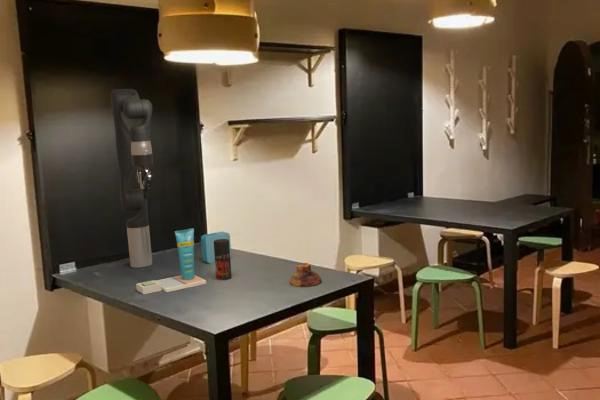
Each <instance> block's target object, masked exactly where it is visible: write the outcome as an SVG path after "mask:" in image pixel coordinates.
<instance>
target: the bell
mask: <svg viewBox="0 0 600 400" xmlns="http://www.w3.org/2000/svg"><path fill="white" fill-rule="evenodd" d="M311 266H312V265H311V264H310V263H309V262H304V263H303V265H301V264H298V265H297V266H296V273H294V274H292V275H291V277H290V278H289V284H290V285H291V286H293V287H297V288H298V287H299V288H308V287H315V286H317V285H320V283H322V278H321V276H320V275H319V274H318V273H317V272H315V271H313V270H312V269H311Z"/></svg>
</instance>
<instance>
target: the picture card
mask: <svg viewBox="0 0 600 400" xmlns="http://www.w3.org/2000/svg"><path fill="white" fill-rule="evenodd" d="M156 281H157V282H158V283H160V284H161V289H162V291H163V292H166V293H169V292H174V291H178V290H182V289H188V288H192V287H197V286H202V285H205V284H207V280H206V279H204V278H202V277H200V276H197V275H195V278H194V279H191V280H183V279H182V276H181V275H177V276H173V277H172V276H171V277H167V278H163V279H158V280H156Z"/></svg>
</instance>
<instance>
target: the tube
mask: <svg viewBox="0 0 600 400" xmlns="http://www.w3.org/2000/svg"><path fill="white" fill-rule="evenodd" d="M174 235H175V240H176V247H177V252H178V258H179V267H180V276H182V279H183V280H191V279H194V278H195V276H196V274H195V250H194V249H195V242H194V241H195V240H194V239H195V236H194V235H195V229H194V228H188V229H183V230H182V229H181V230H176V231H174Z"/></svg>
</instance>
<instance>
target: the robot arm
mask: <svg viewBox="0 0 600 400" xmlns="http://www.w3.org/2000/svg"><path fill="white" fill-rule="evenodd" d="M110 103H111V111H112V116H113V117H112V118H113V123H114V132H115V134H114V135H115V148H116V157H117V158H116V159H117V165H118V174H119V176H118V177H119V191H120V192H119V194H120V207H121V209H122V211H123V212H127V213H128V212H137V211H138V212H139V213H138V214H137V215H135V216H133V217H131V218H129V219H127V220H126V223H125V225H126V233H127V234H126V235H127V241H128V242H127V243H128V254H129V262H130V263H129V266H130V267H131V268H139V269H140V268H146V267H150V266H152V265H153V256H152V247H151V246H152V245H151V236H150V235H151V234H150V223H149V215H148V213H149V212H148V199H150V192H149V189H150V188H152V182H153V177H154V175H153V174H151V170H150V166H153V165H154V162H153V161H154V159H153V149H152V143H151V134H150V131H151V130H150V128H151V125H150V124H151V119H152V115H153V104H152V102H151V101H150V100H149V99H144V98H143V99H141V98H140V95H139V94H138V92H137V90H136V89H133V88H121V89H120V88H119V89H112V90H111V92H110ZM121 112H122V113H123V115H124V116H125V118H126V119H129V120H139V119H140V120H141V119H142V122H141V123H139V124H136V125H132V126H131V127H130V128H129V127H128V126H127V124H126V122H125V121H124V119H123V116H122V114H121ZM135 169H136V173H135V179H136V181H137V184H138V187H139V188H134V189H133V188H132V189H128V186H129V182H130V179H131V177H132V174H133V173H134V171H135Z"/></svg>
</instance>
